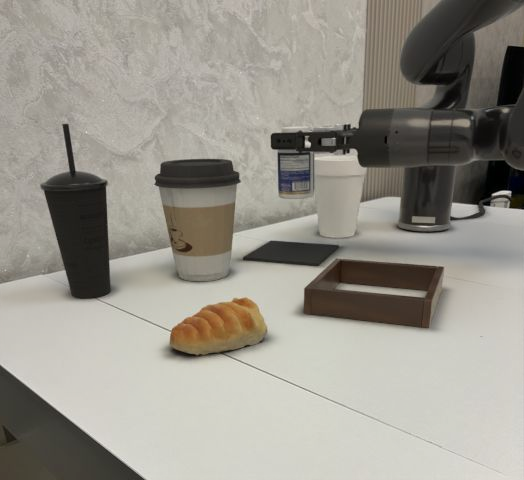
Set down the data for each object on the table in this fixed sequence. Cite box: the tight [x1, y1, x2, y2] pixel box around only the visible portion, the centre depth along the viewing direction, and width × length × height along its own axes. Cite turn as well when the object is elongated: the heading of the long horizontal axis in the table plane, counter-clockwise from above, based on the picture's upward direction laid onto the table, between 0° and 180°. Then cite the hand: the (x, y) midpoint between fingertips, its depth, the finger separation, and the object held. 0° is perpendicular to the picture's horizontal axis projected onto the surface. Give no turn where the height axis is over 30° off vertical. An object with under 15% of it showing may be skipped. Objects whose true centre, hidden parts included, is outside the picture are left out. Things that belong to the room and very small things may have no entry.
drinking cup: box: [39, 123, 112, 299], centre depth 66 cm, size 8×8×20 cm
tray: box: [303, 257, 445, 329], centre depth 64 cm, size 14×14×3 cm
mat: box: [242, 240, 340, 267], centre depth 87 cm, size 12×12×1 cm
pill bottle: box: [276, 125, 315, 200], centre depth 80 cm, size 5×5×10 cm
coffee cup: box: [153, 158, 242, 282], centre depth 74 cm, size 11×11×15 cm
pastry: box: [169, 297, 268, 356], centre depth 54 cm, size 9×7×4 cm
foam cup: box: [314, 155, 368, 239], centre depth 97 cm, size 10×9×13 cm
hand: (279, 140), depth 80 cm, fingers closed on pill bottle, 5 cm apart
